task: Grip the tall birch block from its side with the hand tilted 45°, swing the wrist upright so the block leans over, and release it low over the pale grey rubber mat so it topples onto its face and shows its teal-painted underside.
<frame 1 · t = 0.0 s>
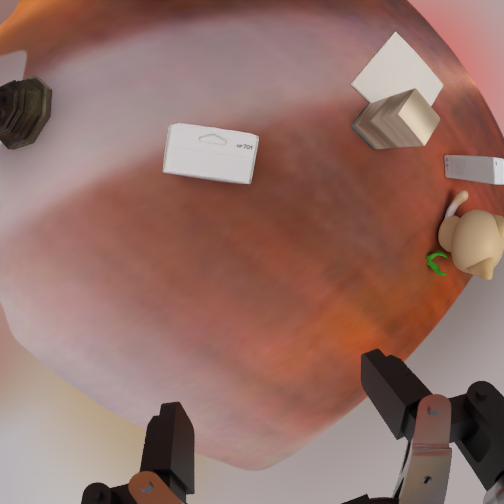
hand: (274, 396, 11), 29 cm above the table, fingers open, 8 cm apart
book lectern: (35, 115, 30), on the table
ink box: (211, 160, 36), on the table
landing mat: (402, 83, 35), on the table
birch block: (370, 126, 37), on the table
kitten: (444, 233, 44), on the table
skincare box: (453, 166, 41), on the table
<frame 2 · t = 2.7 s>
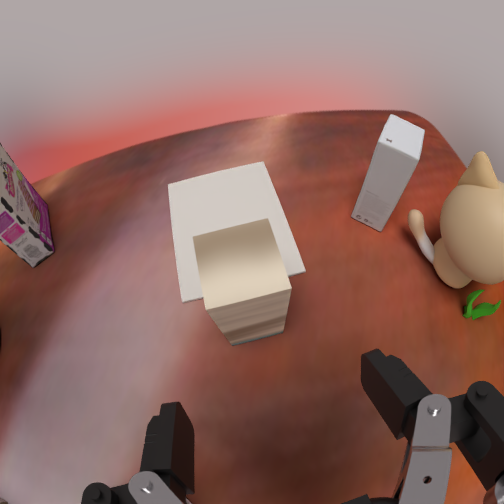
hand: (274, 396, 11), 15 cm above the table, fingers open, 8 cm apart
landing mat: (227, 223, 33), on the table
birch block: (251, 315, 28), on the table
kitten: (449, 270, 28), on the table
candy bar box: (41, 234, 35), on the table
skincare box: (372, 209, 33), on the table
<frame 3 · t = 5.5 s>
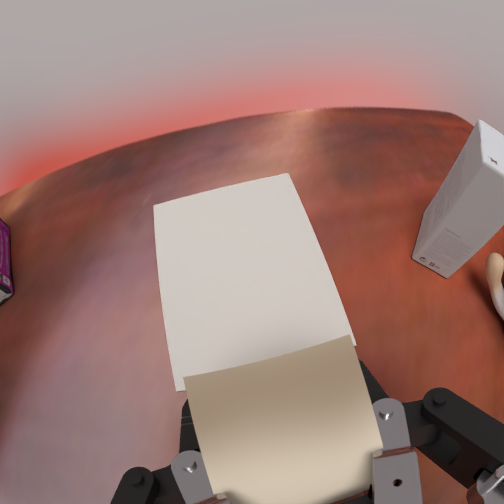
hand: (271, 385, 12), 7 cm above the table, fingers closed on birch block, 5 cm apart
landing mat: (240, 268, 22), on the table
birch block: (277, 412, 17), on the table, touching gripper
candy bar box: (2, 267, 24), on the table
skincare box: (435, 245, 22), on the table
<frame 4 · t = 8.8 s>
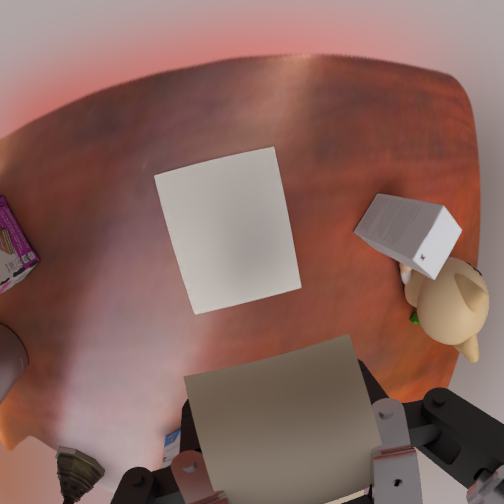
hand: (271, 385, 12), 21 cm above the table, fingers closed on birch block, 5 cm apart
book lectern: (86, 460, 40), on the table
ink box: (191, 432, 39), on the table
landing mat: (231, 233, 31), on the table
birch block: (277, 412, 17), point 17 cm above the table, tilted 45°, touching gripper
kitten: (416, 282, 37), on the table
candy bar box: (13, 235, 28), on the table
skincare box: (375, 220, 33), on the table
when the fingers open (7 cm above the table, at t = 12.3 s): birch block moves 2 cm and tips over, resting on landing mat.
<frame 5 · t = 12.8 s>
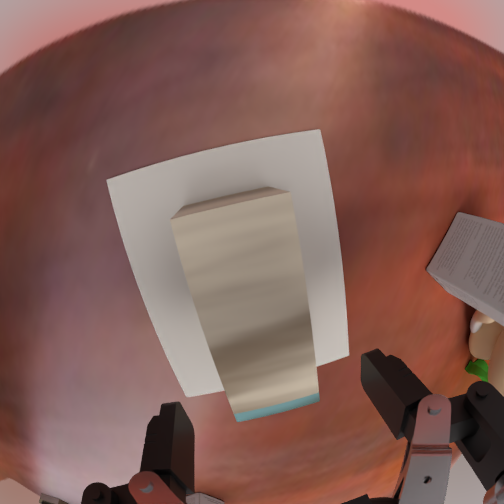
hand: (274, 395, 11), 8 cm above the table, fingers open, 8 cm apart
ink box: (189, 501, 26), on the table
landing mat: (243, 281, 18), on the table
birch block: (271, 386, 17), point 3 cm above the table, tilted 90°, touching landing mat
kitten: (479, 326, 24), on the table
skincare box: (451, 251, 20), on the table
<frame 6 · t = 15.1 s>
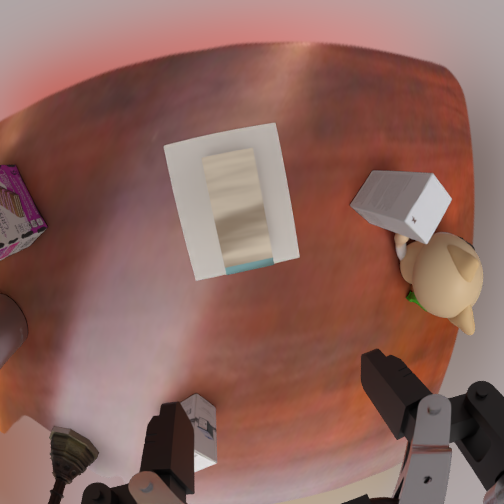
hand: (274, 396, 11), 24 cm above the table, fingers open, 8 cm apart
book lectern: (80, 441, 42), on the table
ink box: (187, 409, 41), on the table
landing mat: (233, 201, 33), on the table
birch block: (247, 262, 32), point 3 cm above the table, tilted 90°, touching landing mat
kitten: (411, 261, 38), on the table
candy bar box: (22, 203, 29), on the table
skincare box: (370, 196, 35), on the table
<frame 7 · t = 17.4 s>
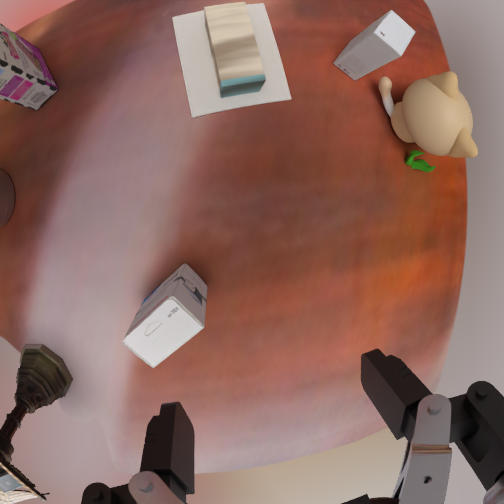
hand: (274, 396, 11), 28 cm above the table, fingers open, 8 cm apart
book lectern: (53, 364, 40), on the table
ink box: (174, 291, 39), on the table
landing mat: (229, 53, 31), on the table
birch block: (242, 89, 30), point 3 cm above the table, tilted 90°, touching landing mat
kitten: (403, 125, 36), on the table
candy bar box: (38, 77, 27), on the table
skincare box: (352, 60, 33), on the table
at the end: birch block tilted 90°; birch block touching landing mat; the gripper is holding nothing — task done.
